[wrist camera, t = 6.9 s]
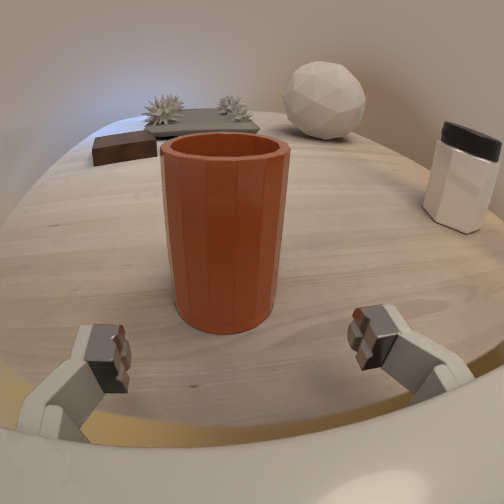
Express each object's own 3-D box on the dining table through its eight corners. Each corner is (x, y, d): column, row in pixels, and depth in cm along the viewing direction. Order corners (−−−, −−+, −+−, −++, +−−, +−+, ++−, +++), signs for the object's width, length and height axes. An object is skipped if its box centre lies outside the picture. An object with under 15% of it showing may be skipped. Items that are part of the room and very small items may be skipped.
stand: (93, 166, 45) (91, 149, 44) (96, 152, 54) (95, 137, 52) (157, 156, 49) (156, 139, 48) (149, 144, 58) (148, 129, 56)
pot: (190, 346, 17) (174, 166, 11) (166, 280, 22) (153, 137, 16) (291, 317, 19) (315, 155, 14) (249, 262, 24) (256, 129, 19)
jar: (444, 202, 39) (462, 125, 33) (487, 228, 33) (510, 145, 27) (411, 207, 36) (430, 117, 30) (459, 238, 30) (487, 138, 23)
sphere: (322, 159, 78) (356, 103, 76) (354, 151, 59) (393, 84, 57) (261, 118, 74) (300, 63, 72) (276, 97, 55) (323, 32, 53)
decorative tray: (260, 138, 64) (263, 93, 58) (138, 143, 59) (136, 96, 53) (236, 116, 92) (237, 86, 87) (154, 119, 88) (154, 89, 82)
